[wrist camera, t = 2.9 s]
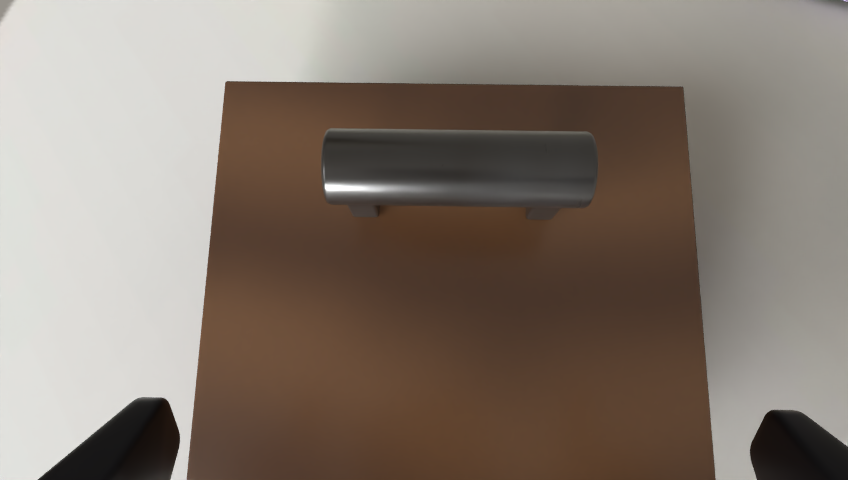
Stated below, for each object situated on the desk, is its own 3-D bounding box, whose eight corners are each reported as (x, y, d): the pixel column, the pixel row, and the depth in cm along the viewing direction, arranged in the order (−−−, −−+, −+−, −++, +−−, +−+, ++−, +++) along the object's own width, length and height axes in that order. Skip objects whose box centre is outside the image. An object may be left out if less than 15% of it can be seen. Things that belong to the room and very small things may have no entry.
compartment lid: (234, 93, 17) (162, -6, 12) (672, 99, 16) (762, 0, 12) (198, 475, 14) (94, 526, 10) (702, 486, 14) (826, 542, 10)
